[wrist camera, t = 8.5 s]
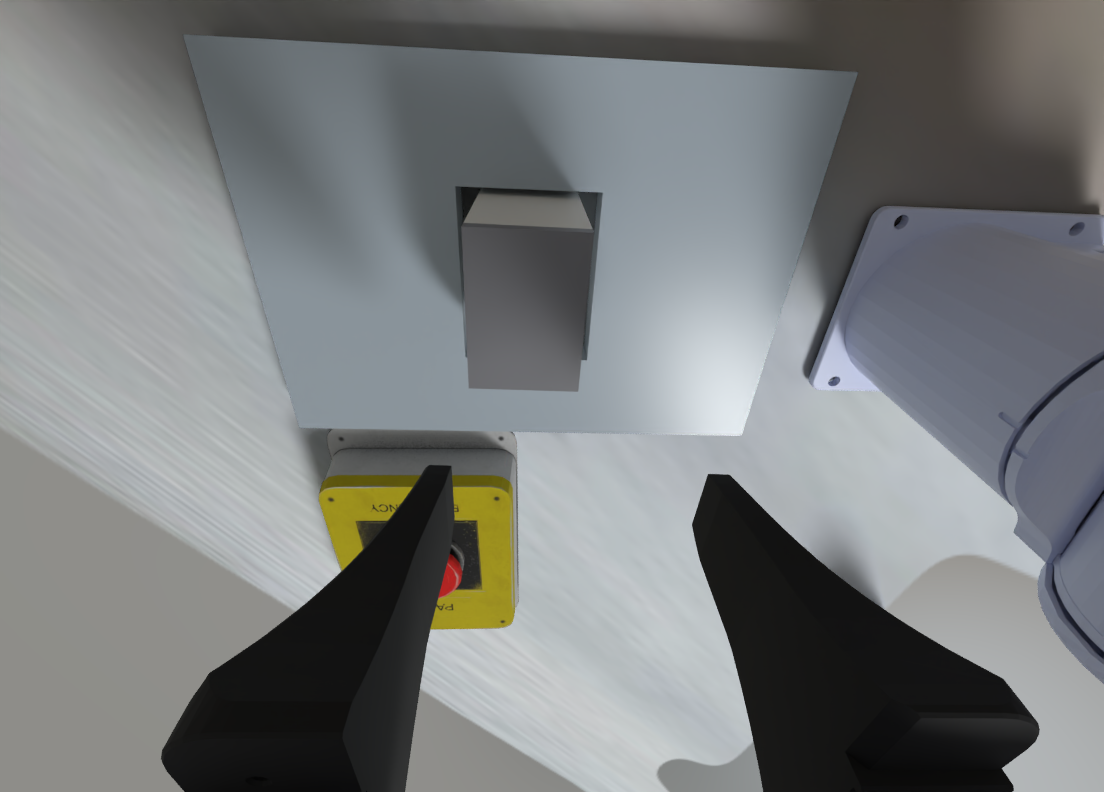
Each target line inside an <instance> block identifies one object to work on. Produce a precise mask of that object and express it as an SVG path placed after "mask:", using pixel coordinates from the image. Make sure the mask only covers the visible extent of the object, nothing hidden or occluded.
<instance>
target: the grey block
mask: <svg viewBox="0 0 1104 792" xmlns="http://www.w3.org/2000/svg"><path fill="white" fill-rule="evenodd" d="M461 229H462V251H463V273H464V295H465V317H466V339H467V362H468V384H469V388H470V389H502V390H535V391H568V392H578V389H579V379H580V369H581V359H582V349H583V339H584V329H585V319H586V309H587V299H588V289H589V279H590V269H591V259H592V248H593V238H594V232H593V229H592V227H591V224H590V222H589V219H588V217H587V214H586V212H585V209H584V207H583V204H582V202H581V199H580V197H579V194H578V192H575V191H555V190H531V189H507V188H483V187H482V188H481V190H480V192H479V194H478V196H477V198H476V200H475V201H474V203H473V205H472V207H471V209H470V211H469V213H468V215H467V217H466V219H465V220H464V222H463V224H462V226H461Z"/></svg>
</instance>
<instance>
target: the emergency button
mask: <svg viewBox="0 0 1104 792" xmlns="http://www.w3.org/2000/svg"><path fill="white" fill-rule="evenodd" d="M327 445H328V449H329V452H330V456H331V459H332V462H331V464H330V467H329V470H328V472H327V475H326V478H325V480H324V481H323V483H322V486H321V490H320V493H319V503H320V506H321V509H322V512H323V516H324V519H325V522H326V525H327V528H328V531H329V534H330V538H331V541H332V544H333V547H334V550H335V553H336V557H337V560H338V563H339V566H340V569H341V571H342V570H343V569H344V568H345V567H346V566H347V565H348V564H349V563H350V562H351V561H352V560H353V559H354V558H355V557H356V556H357V555H358V554H359V553H360V552H361V551H362V550H363V549H364V548H365V547H366V546H367V544H368V543H369V542H370V541H371V540H372V539H373V537H374V536H375V535H376V534H377V533H378V532H379V531H380V529H381V528H382V527H383V526H384V525H385V524H386V522H387V521H388V520H389V519H390V517H391V516H392V515H393V513H394V512H395V511H396V510H397V508H398V507H399V506H400V504H401V503H402V502H403V500H404V499H405V498H406V496H407V495H408V493H409V492H410V491H411V489H412V488H413V486H414V485H415V483H416V482H417V480H418V479H419V477H420V476H421V474H422V473H423V471H424V469H425V468H426V467H427V466H428V465H448V466H452V481H453V498H454V514H455V520H454V528H453V535H452V542H451V549H450V554H449V558H448V562H447V566H446V570H445V574H444V578H443V582H442V586H441V590H440V594H439V597H438V601H437V605H436V609H435V613H434V617H433V621H432V624H431V628H430V629H493V628H504V627H507V626H509V625H511V624H512V622H513V619H514V613H515V607H517V604H518V602H519V582H518V487H517V441H516V438H515V434H514V433H513V432H500V431H443V430H387V429H331V431H330V432H329V433H328V435H327Z"/></svg>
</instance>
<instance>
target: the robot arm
mask: <svg viewBox="0 0 1104 792" xmlns="http://www.w3.org/2000/svg"><path fill="white" fill-rule="evenodd" d="M901 215H902V219H901V221H900V223H899V224H898V225H896V226H894V222H895V220H896V219H897V218H898V217H899V216H901ZM1073 225H1074V227H1073V228H1072V226H1073ZM1071 228H1072V230H1071V231H1070V229H1071ZM1103 244H1104V215H1097V214H1073V213H1049V212H1026V211H1002V210H978V209H954V208H931V207H907V206H883V207H881V208H879V209H878V210H877V211H876V212H875V213H873V215H872V217H871V218H870V221H869V223H868V226H867V229H866V231H865V234H864V236H863V239H862V242H861V244H860V247H859V249H858V252H857V255H856V257H855V260H854V262H853V265H852V267H851V270H850V273H849V275H848V278H847V280H846V283H845V286H844V288H843V291H842V293H841V296H840V299H839V301H838V304H837V306H836V309H835V312H834V314H833V317H832V319H831V322H830V325H829V327H828V330H827V332H826V335H825V338H824V340H823V343H822V345H821V348H820V350H819V353H818V356H817V358H816V361H815V363H814V366H813V369H812V371H811V374H810V376H809V383H810V384H811V386H812V387H813V388H815V389H817V390H844V391H882V392H883V393H884V394H885V395H886V396H887V397H889V398H890V399H891V400H892V401H893V402H894V403H895V404H896V405H898V406H899V407H900V408H901V409H902V410H903V411H904V412H906V413H907V414H908V415H909V416H910V417H911V418H912V419H914V420H915V421H916V422H917V423H918V424H919V425H920V426H921V427H923V428H924V429H925V430H926V431H927V432H928V433H929V434H931V435H932V436H933V437H934V438H935V439H936V440H937V441H939V442H940V443H941V444H942V445H943V446H944V447H945V448H946V449H948V450H949V451H950V452H951V453H952V454H953V455H954V456H956V457H957V458H958V459H959V460H960V461H961V462H962V463H964V464H965V465H966V466H967V467H968V468H969V469H970V470H971V471H973V472H974V473H975V474H976V475H977V476H978V477H979V478H981V479H982V480H983V481H984V482H985V483H986V484H987V485H989V486H990V487H991V488H992V489H993V490H994V491H995V492H996V493H998V494H999V495H1000V496H1001V497H1002V498H1003V499H1004V500H1006V501H1007V502H1008V503H1009V504H1010V505H1012V506H1013V507H1014V508H1015V510H1016V512H1017V514H1018V522H1017V524H1016V527H1015V529H1014V533H1015V534H1016V535H1017V536H1018V537H1019V538H1020V539H1021V540H1022V541H1023V542H1024V543H1025V544H1026V545H1027V546H1029V547H1030V548H1031V549H1032V550H1033V551H1034V552H1035V553H1036V554H1037V555H1038V556H1039V557H1040V558H1041V559H1043V560H1044V561H1045V562H1046V563H1045V565H1044V566H1043V568H1042V569H1041V572H1040V575H1039V579H1038V597H1039V600H1040V604H1041V607H1042V610H1043V612H1044V614H1045V616H1046V618H1047V620H1048V622H1049V624H1050V626H1051V627H1052V629H1053V630H1054V632H1055V633H1056V634H1057V635H1058V637H1059V638H1060V640H1061V641H1062V642H1063V644H1064V645H1065V646H1066V648H1067V649H1068V650H1069V651H1070V652H1071V653H1072V654H1073V655H1074V656H1075V657H1076V658H1077V659H1078V660H1079V662H1080V663H1081V664H1082V665H1083V666H1084V667H1085V668H1086V669H1088V670H1089V671H1090V672H1091V673H1092V674H1093V675H1095V677H1096V678H1098V679H1099V680H1100V681H1101V682H1102V683H1103V684H1104V246H1103ZM832 377H835V378H834V380H832V381H830V382H829V380H830V379H831V378H832ZM454 520H455V514H454V498H453V481H452V466H448V465H428V466H427V467H426V468H425V469H424V471H423V473H422V474H421V476H420V477H419V479H418V480H417V482H416V483H415V485H414V486H413V488H412V489H411V491H410V492H409V493H408V495H407V496H406V498H405V499H404V500H403V502H402V503H401V504H400V506H399V507H398V508H397V510H396V511H395V512H394V513H393V515H392V516H391V517H390V519H389V520H388V521H387V522H386V524H385V525H384V526H383V527H382V528H381V529H380V531H379V532H378V533H377V534H376V535H375V536H374V537H373V539H372V540H371V541H370V542H369V543H368V544H367V546H366V547H365V548H364V549H363V550H362V551H361V552H360V553H359V554H358V555H357V556H356V557H355V558H354V559H353V560H352V561H351V562H350V563H349V564H348V565H347V566H346V567H345V568H344V569H343V570H342V571H341V572H340V573H339V574H338V575H337V576H336V577H335V578H334V579H333V580H332V581H331V582H330V583H328V584H327V585H326V586H325V587H324V588H323V589H322V590H321V591H320V592H319V593H317V594H316V595H315V596H314V597H313V598H312V599H310V600H309V601H308V602H307V603H306V604H305V605H303V606H302V607H301V608H300V609H298V610H297V611H296V612H295V613H293V614H292V615H291V616H289V617H288V618H287V619H286V620H284V621H283V622H282V623H280V624H279V625H278V626H277V627H275V628H274V629H273V630H271V631H270V632H269V633H268V634H266V635H265V636H264V637H262V638H261V639H259V640H258V641H257V642H255V643H254V644H252V645H251V646H249V647H248V648H246V649H245V650H243V651H242V652H241V653H239V654H238V655H236V656H234V657H233V658H232V659H230V660H229V661H227V662H226V663H224V664H223V665H221V666H220V667H218V668H217V669H215V670H213V671H212V672H210V673H209V674H208V676H207V677H206V679H205V681H204V682H203V683H202V685H201V686H200V688H199V689H198V691H197V692H196V693H195V695H194V696H193V698H192V699H191V701H190V702H189V704H188V706H187V707H186V709H185V711H184V713H183V715H182V716H181V718H180V720H179V721H178V723H177V725H176V727H175V729H174V730H173V732H172V734H171V736H170V737H169V739H168V741H167V743H166V745H165V746H164V748H163V750H162V756H161V759H162V763H163V765H164V767H165V769H166V770H167V772H168V773H169V774H170V775H171V777H172V778H173V779H174V780H175V781H176V782H177V783H178V785H179V786H180V787H181V788H182V789H183V790H184V792H405V788H406V780H407V773H408V765H409V758H410V751H411V744H412V737H413V730H414V723H415V717H416V710H417V703H418V697H419V690H420V684H421V678H422V671H423V665H424V659H425V653H426V647H427V642H428V637H429V633H430V628H431V624H432V621H433V617H434V613H435V609H436V605H437V601H438V597H439V594H440V590H441V586H442V582H443V578H444V574H445V570H446V566H447V562H448V558H449V554H450V549H451V542H452V535H453V528H454ZM692 527H693V532H694V537H695V542H696V546H697V550H698V554H699V559H700V561H701V564H702V567H703V570H704V573H705V576H706V579H707V581H708V584H709V587H710V590H711V592H712V595H713V598H714V601H715V603H716V606H717V609H718V611H719V614H720V617H721V620H722V622H723V625H724V628H725V631H726V633H727V636H728V640H729V643H730V646H731V649H732V652H733V656H734V660H735V664H736V668H737V672H738V676H739V680H740V684H741V688H742V692H743V696H744V701H745V705H746V709H747V713H748V718H749V722H750V726H751V731H752V736H753V741H754V745H755V751H756V755H757V760H758V765H759V770H760V775H761V781H762V787H763V792H1012V791H1014V788H1013V784H1012V783H1011V782H1010V780H1009V779H1008V777H1007V776H1006V774H1005V773H1004V771H1003V770H1002V768H1003V767H1004V766H1005V765H1007V764H1008V763H1009V762H1011V761H1012V760H1013V759H1015V758H1016V757H1017V756H1019V755H1020V754H1021V753H1023V752H1024V751H1025V750H1027V749H1028V748H1029V747H1030V746H1031V745H1032V744H1033V743H1034V742H1035V741H1036V739H1037V737H1038V735H1039V725H1038V723H1037V721H1036V720H1035V719H1034V717H1033V716H1032V715H1031V714H1030V712H1029V711H1028V710H1027V708H1026V707H1025V706H1024V705H1023V703H1022V702H1021V701H1020V699H1019V698H1018V697H1017V696H1016V695H1015V693H1014V692H1013V691H1012V689H1011V688H1010V687H1009V686H1008V684H1007V683H1006V682H1005V681H1004V679H1002V678H1000V677H999V676H997V675H995V674H993V673H991V672H989V671H987V670H986V669H984V668H981V667H980V666H978V665H976V664H974V663H973V662H971V661H969V660H967V659H965V658H963V657H961V656H960V655H957V654H956V653H954V652H952V651H950V650H948V649H947V648H945V647H943V646H942V645H940V644H938V643H937V642H935V641H933V640H931V639H930V638H928V637H927V636H925V635H923V634H921V633H920V632H918V631H916V630H915V629H913V628H912V627H910V626H908V625H907V624H905V623H904V622H902V621H901V620H899V619H897V618H896V617H894V616H893V615H891V614H890V613H888V612H887V611H886V610H884V609H883V608H881V607H880V606H878V605H877V604H875V603H874V602H872V601H871V600H869V599H868V598H867V597H865V596H864V595H862V594H861V593H860V592H858V591H857V590H856V589H854V588H853V587H852V586H850V585H849V584H848V583H846V582H845V581H844V580H843V579H841V578H840V577H839V576H837V575H836V574H835V573H834V572H832V571H831V570H830V569H828V568H827V567H826V566H825V565H824V564H822V563H821V562H820V561H819V560H818V559H816V558H815V557H814V556H813V555H812V554H811V553H810V552H809V551H807V550H806V549H805V548H804V547H803V546H802V545H801V544H799V543H798V542H797V541H796V540H795V539H794V538H793V537H792V536H791V535H790V534H789V533H788V532H786V531H785V530H784V529H783V528H782V527H781V526H780V525H779V524H778V523H777V522H776V521H775V520H774V519H773V518H772V517H771V516H770V515H769V514H768V513H767V512H766V511H765V510H764V509H763V508H762V507H761V506H760V505H759V504H758V503H757V502H756V501H755V500H754V499H753V498H752V497H751V496H750V495H749V494H748V493H747V492H746V491H745V490H744V489H743V488H742V487H741V486H740V485H739V484H738V483H737V482H736V481H735V480H734V479H733V478H732V477H731V476H730V475H721V474H708V476H707V479H706V483H705V486H704V489H703V492H702V495H701V498H700V501H699V504H698V508H697V511H696V514H695V517H694V520H693V523H692Z"/></svg>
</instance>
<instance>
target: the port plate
mask: <svg viewBox="0 0 1104 792" xmlns="http://www.w3.org/2000/svg"><path fill="white" fill-rule="evenodd" d="M183 37H184V41H185V44H186V48H187V51H188V54H189V58H190V61H191V64H192V68H193V71H194V75H195V78H196V81H197V85H198V88H199V91H200V95H201V98H202V102H203V105H204V108H205V112H206V115H207V118H208V122H209V125H210V129H211V132H212V135H213V139H214V142H215V145H216V149H217V152H218V156H219V159H220V162H221V166H222V169H223V172H224V176H225V179H226V183H227V186H228V189H229V193H230V196H231V199H232V203H233V206H234V210H235V213H236V216H237V220H238V223H239V226H240V230H241V233H242V236H243V240H244V243H245V247H246V250H247V253H248V257H249V260H250V263H251V267H252V270H253V274H254V277H255V280H256V284H257V287H258V290H259V294H260V297H261V301H262V304H263V307H264V311H265V314H266V317H267V321H268V324H269V328H270V331H271V334H272V338H273V341H274V344H275V348H276V351H277V355H278V358H279V361H280V365H281V368H282V371H283V375H284V378H285V382H286V385H287V388H288V392H289V395H290V398H291V402H292V405H293V409H294V412H295V415H296V419H297V422H298V425H299V428H330V429H387V430H443V431H500V432H557V433H614V434H671V435H728V436H741V435H742V432H743V429H744V426H745V423H746V420H747V416H748V413H749V410H750V407H751V404H752V401H753V398H754V395H755V392H756V388H757V385H758V382H759V379H760V376H761V373H762V370H763V367H764V364H765V361H766V357H767V354H768V351H769V348H770V345H771V342H772V339H773V336H774V333H775V329H776V326H777V323H778V320H779V317H780V314H781V311H782V308H783V305H784V301H785V298H786V295H787V292H788V289H789V286H790V283H791V280H792V277H793V273H794V270H795V267H796V264H797V261H798V258H799V255H800V252H801V249H802V246H803V242H804V239H805V236H806V233H807V230H808V227H809V224H810V221H811V218H812V214H813V211H814V208H815V205H816V202H817V199H818V196H819V193H820V190H821V186H822V183H823V180H824V177H825V174H826V171H827V168H828V165H829V162H830V158H831V155H832V152H833V149H834V146H835V143H836V140H837V137H838V134H839V131H840V127H841V124H842V121H843V118H844V115H845V112H846V109H847V106H848V103H849V99H850V96H851V93H852V90H853V87H854V84H855V81H856V78H857V75H858V72H848V71H830V70H812V69H794V68H776V67H758V66H741V65H723V64H705V63H687V62H669V61H651V60H633V59H616V58H598V57H580V56H562V55H544V54H526V53H508V52H490V51H473V50H455V49H437V48H419V47H401V46H383V45H365V44H347V43H330V42H312V41H294V40H276V39H258V38H240V37H222V36H205V35H187V34H183ZM461 187H483V188H507V189H531V190H555V191H578V192H597V203H596V214H595V225H594V238H593V248H592V259H591V270H590V282H589V293H588V304H587V315H586V326H585V338H584V344H583V349H582V359H581V369H580V379H579V389H578V392H568V391H535V390H502V389H470V388H469V384H468V362H467V339H466V317H465V295H464V273H463V251H462V229H461V226H462V224H463V210H462V191H461Z"/></svg>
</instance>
